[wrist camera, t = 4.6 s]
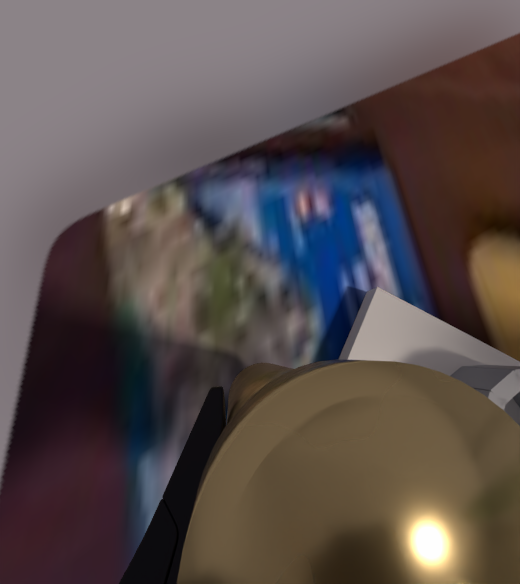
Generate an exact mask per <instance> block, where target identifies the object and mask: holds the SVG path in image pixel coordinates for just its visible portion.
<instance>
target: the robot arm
mask: <svg viewBox="0 0 520 584" xmlns="http://www.w3.org/2000/svg"><path fill="white" fill-rule="evenodd" d="M225 427H226V413H225V399H224V390H223V387H212V388H211V389H210V391H209V393H208V395H207V397H206V399H205V402H204V404H203V406H202V409H201V411H200V413H199V415H198V418H197V420H196V422H195V424H194V427H193V429H192V431H191V433H190V436H189V438H188V440H187V442H186V445H185V447H184V449H183V451H182V454H181V456H180V458H179V460H178V463H177V465H176V467H175V469H174V472H173V474H172V476H171V478H170V481H169V483H168V485H167V487H166V490H165V492H164V494H163V499H162V500H161V501H160V503H159V505H158V507H157V510H156V512H155V514H154V516H153V518H152V521H151V523H150V525H149V527H148V529H147V531H146V533H145V535H144V537H143V540H142V542H141V543H140V545H139V547H138V549H137V551H136V553H135V555H134V557H133V559H132V561H131V562H130V564H129V566H128V568H127V570H126V572H125V573H124V575H123V577H122V579H121V581H120V583H119V584H177V579H178V573H179V568H180V562H181V557H182V551H183V547H184V543H185V539H186V535H187V531H188V527H189V523H190V519H191V515H192V511H193V507H194V503H195V499H196V495H197V491H198V487H199V484H200V481H201V477H202V474H203V471H204V468H205V466H206V463H207V461H208V459H209V456H210V454H211V452H212V449H213V447H214V445H215V444H216V442H217V440H218V438H219V437H220V435H221V433H222V431H223V430H224V428H225Z"/></svg>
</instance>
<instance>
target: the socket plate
mask: <svg viewBox="0 0 520 584" xmlns="http://www.w3.org/2000/svg"><path fill="white" fill-rule="evenodd" d="M339 359H340V360H372V361H395V362H401V363H407V364H414V365H419V366H422V367H426V368H429V369H432V370H436V371H439V372H442V373H444V374H446V375H448V376H451V377H453V378H455V379H457V380H460V381H462V382H464V383H465V384H467V385H469V386H470V387H472V388H473V389H475V390H477V391H478V392H480V393H482V394H483V395H485V396H486V397H487V398H489V399H490V400H491V401H492V402H494V403H495V404H496V405H498V406H499V407H500V408H501V409H503V410H504V411H505V412H506V413H507V414H508V415H509V416H510V417H511V418H512V419H513V420H514V421H515V422H516V423H517V424H518V425H519V426H520V362H519V361H517V360H516V359H514V358H512V357H510V356H508V355H506V354H504V353H502V352H500V351H498V350H497V349H495V348H493V347H491V346H489V345H487V344H485V343H483V342H481V341H479V340H478V339H476V338H474V337H472V336H470V335H468V334H466V333H464V332H462V331H460V330H458V329H457V328H455V327H453V326H451V325H449V324H447V323H445V322H443V321H441V320H439V319H438V318H436V317H434V316H432V315H430V314H428V313H426V312H424V311H422V310H420V309H419V308H417V307H415V306H413V305H411V304H409V303H407V302H405V301H403V300H401V299H399V298H398V297H396V296H394V295H392V294H390V293H388V292H386V291H384V290H382V289H380V288H379V287H376V288H374V289H372V290H370V291H367V293H366V295H365V298H364V300H363V302H362V305H361V307H360V309H359V312H358V314H357V317H356V319H355V321H354V324H353V326H352V328H351V331H350V333H349V336H348V338H347V340H346V343H345V345H344V347H343V350H342V352H341V355H340V357H339Z"/></svg>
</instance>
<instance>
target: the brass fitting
mask: <svg viewBox="0 0 520 584" xmlns="http://www.w3.org/2000/svg"><path fill="white" fill-rule="evenodd" d="M177 584H520V426H519V425H518V424H517V423H516V422H515V421H514V420H513V419H512V418H511V417H510V416H509V415H508V414H507V413H506V412H505V411H504V410H503V409H501V408H500V407H499V406H498V405H496V404H495V403H494V402H492V401H491V400H490V399H489V398H487V397H486V396H485V395H483V394H482V393H480V392H478V391H477V390H475V389H473V388H472V387H470V386H469V385H467V384H465V383H464V382H462V381H460V380H457V379H455V378H453V377H451V376H448V375H446V374H444V373H442V372H439V371H436V370H432V369H429V368H426V367H422V366H419V365H414V364H407V363H401V362H395V361H372V360H340V359H336V360H328V361H319V362H315V363H311V364H308V365H304V366H301V367H298V368H296V369H292V368H287V367H283V366H279V365H275V364H270V363H257V364H253V365H251V366H248V367H247V368H245V369H244V370H242V371H241V372H240V373H239V374H238V375H237V377H236V378H235V379H234V381H233V383H232V385H231V388H230V391H229V398H228V413H227V425H226V427H225V428H224V430H223V431H222V433H221V435H220V437H219V438H218V440H217V442H216V444H215V445H214V447H213V449H212V452H211V454H210V456H209V459H208V461H207V463H206V466H205V468H204V471H203V474H202V477H201V481H200V484H199V487H198V491H197V495H196V499H195V503H194V507H193V511H192V515H191V519H190V523H189V527H188V531H187V535H186V539H185V543H184V547H183V551H182V557H181V562H180V568H179V573H178V579H177Z"/></svg>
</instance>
